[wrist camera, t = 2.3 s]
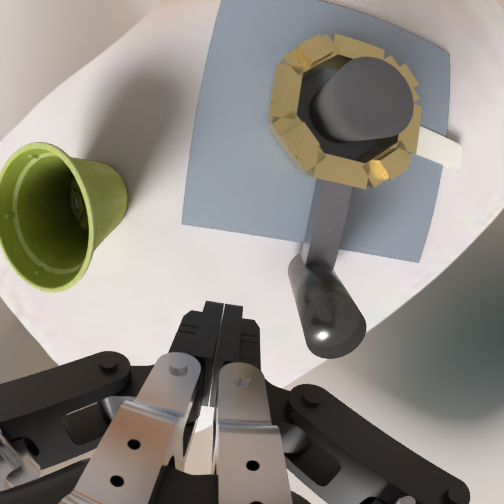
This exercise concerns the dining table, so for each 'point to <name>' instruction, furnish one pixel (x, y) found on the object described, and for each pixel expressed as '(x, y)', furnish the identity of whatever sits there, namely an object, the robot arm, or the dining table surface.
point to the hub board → (259, 161)
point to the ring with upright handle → (331, 190)
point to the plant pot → (56, 214)
